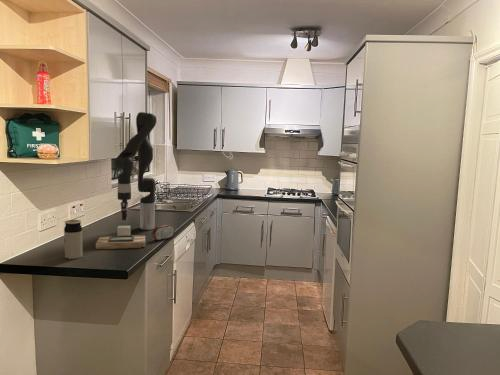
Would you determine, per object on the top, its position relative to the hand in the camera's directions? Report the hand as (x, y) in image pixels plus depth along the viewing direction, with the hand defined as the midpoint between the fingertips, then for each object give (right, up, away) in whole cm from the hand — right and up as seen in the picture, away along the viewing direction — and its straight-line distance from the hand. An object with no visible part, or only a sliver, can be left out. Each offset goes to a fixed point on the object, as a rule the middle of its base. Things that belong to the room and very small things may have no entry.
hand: (124, 218), depth 230 cm
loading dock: (+3, -13, -13) cm, 19 cm away
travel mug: (-13, -16, -37) cm, 42 cm away
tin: (+23, -13, +2) cm, 26 cm away
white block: (-1, -12, +2) cm, 12 cm away
